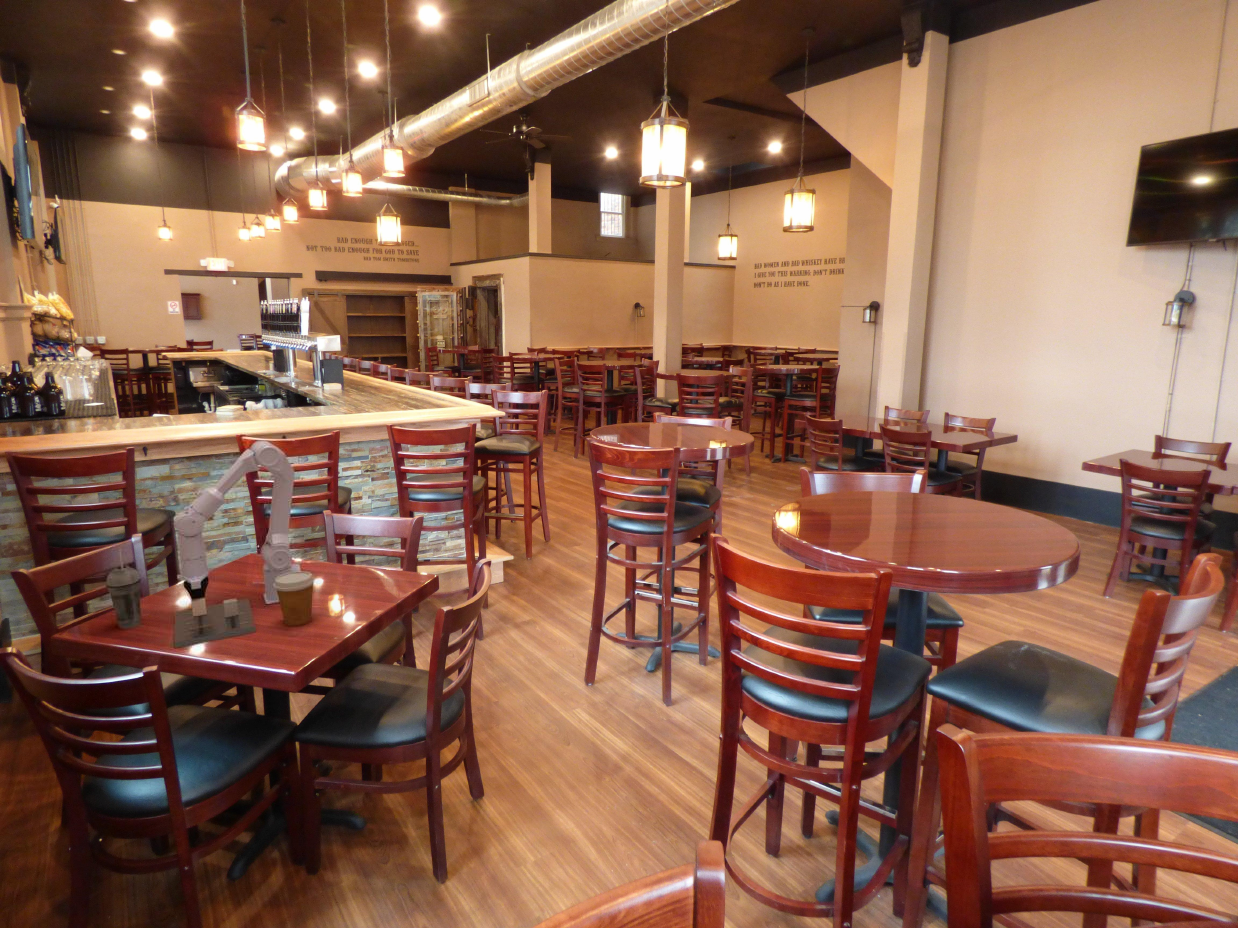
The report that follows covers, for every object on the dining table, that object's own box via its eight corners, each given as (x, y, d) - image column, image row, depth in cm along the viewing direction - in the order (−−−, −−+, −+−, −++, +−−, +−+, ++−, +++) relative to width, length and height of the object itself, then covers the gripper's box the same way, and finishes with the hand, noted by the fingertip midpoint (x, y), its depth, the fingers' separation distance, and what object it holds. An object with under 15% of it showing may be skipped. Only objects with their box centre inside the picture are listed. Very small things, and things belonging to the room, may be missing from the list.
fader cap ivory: (206, 611, 183) (204, 597, 182) (206, 614, 182) (204, 599, 181) (193, 614, 182) (191, 599, 181) (193, 616, 180) (191, 601, 179)
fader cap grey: (238, 612, 182) (236, 597, 182) (238, 614, 181) (236, 599, 180) (225, 615, 181) (223, 600, 180) (225, 617, 180) (223, 602, 179)
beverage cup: (110, 633, 174) (98, 556, 170) (115, 622, 181) (103, 548, 177) (145, 627, 178) (134, 552, 174) (148, 617, 184) (138, 544, 180)
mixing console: (248, 603, 192) (248, 598, 192) (255, 631, 175) (254, 625, 174) (176, 617, 184) (175, 611, 183) (175, 648, 166) (174, 641, 166)
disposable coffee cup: (326, 616, 184) (322, 572, 182) (298, 631, 175) (294, 585, 173) (297, 611, 187) (293, 568, 185) (269, 625, 178) (264, 581, 176)
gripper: (175, 551, 186) (181, 600, 189) (174, 567, 174) (181, 619, 177) (205, 547, 190) (211, 594, 192) (207, 562, 178) (213, 613, 180)
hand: (199, 606), depth 185 cm, fingers closed
